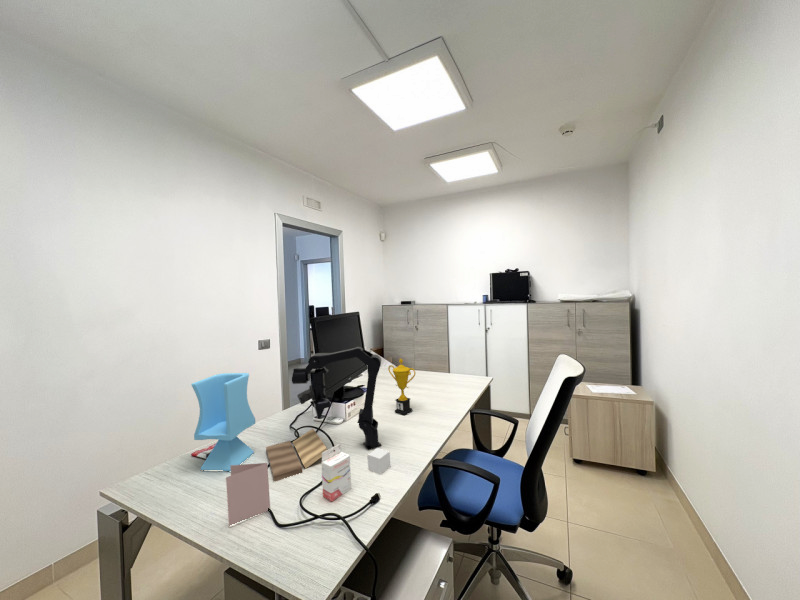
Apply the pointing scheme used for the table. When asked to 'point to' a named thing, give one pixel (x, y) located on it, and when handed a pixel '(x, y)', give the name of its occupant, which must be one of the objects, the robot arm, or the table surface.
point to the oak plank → (309, 447)
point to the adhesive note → (379, 460)
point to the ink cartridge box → (335, 473)
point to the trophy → (402, 387)
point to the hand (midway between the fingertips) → (319, 418)
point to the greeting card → (247, 491)
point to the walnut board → (283, 460)
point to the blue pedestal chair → (224, 418)
